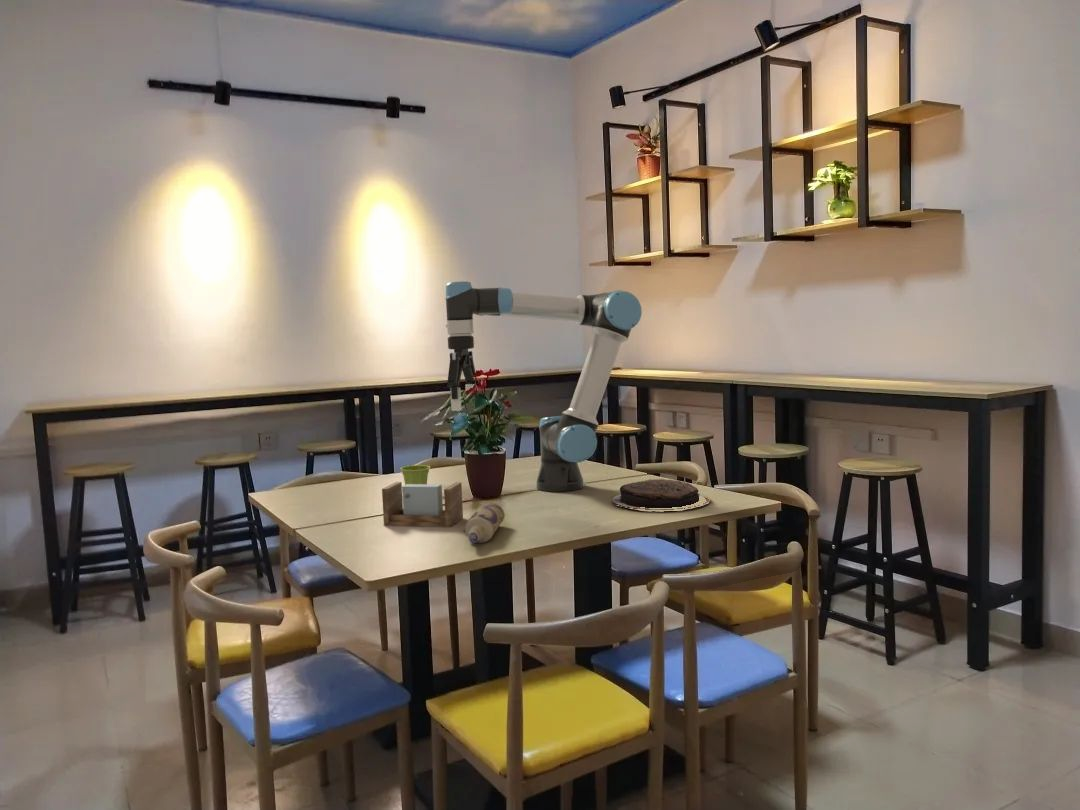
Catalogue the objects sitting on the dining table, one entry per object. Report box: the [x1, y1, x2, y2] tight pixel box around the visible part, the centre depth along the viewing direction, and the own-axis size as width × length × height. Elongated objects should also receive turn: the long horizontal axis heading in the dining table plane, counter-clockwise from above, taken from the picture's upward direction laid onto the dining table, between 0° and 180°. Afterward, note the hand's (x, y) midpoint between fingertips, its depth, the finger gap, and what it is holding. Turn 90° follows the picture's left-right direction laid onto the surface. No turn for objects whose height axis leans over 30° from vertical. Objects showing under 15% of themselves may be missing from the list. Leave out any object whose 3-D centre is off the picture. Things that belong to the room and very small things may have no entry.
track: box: [381, 481, 464, 528], centre depth 228 cm, size 19×10×10 cm, turn 77°
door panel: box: [402, 483, 444, 515], centre depth 227 cm, size 10×4×9 cm, turn 77°
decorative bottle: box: [463, 501, 506, 544], centre depth 208 cm, size 26×8×7 cm, turn 173°
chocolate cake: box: [612, 478, 711, 510], centre depth 242 cm, size 28×28×7 cm
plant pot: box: [400, 464, 431, 485], centre depth 268 cm, size 9×9×9 cm
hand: (463, 408), depth 246 cm, fingers open, 13 cm apart
